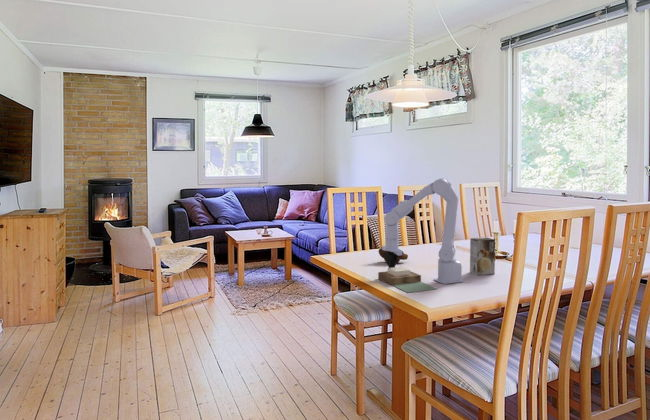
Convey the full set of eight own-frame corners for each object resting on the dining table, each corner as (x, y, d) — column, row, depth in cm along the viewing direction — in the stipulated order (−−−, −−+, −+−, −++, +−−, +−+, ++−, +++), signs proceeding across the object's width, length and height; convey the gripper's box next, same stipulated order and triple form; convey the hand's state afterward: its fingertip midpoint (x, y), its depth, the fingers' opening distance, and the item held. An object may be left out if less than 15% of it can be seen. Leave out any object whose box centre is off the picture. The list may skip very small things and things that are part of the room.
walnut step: (405, 276, 210) (405, 269, 209) (420, 282, 199) (420, 275, 198) (378, 279, 205) (378, 272, 204) (392, 285, 193) (392, 278, 193)
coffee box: (486, 271, 218) (487, 237, 217) (494, 274, 212) (495, 239, 211) (469, 272, 216) (470, 238, 215) (476, 275, 210) (477, 240, 209)
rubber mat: (420, 282, 199) (420, 281, 199) (437, 289, 188) (437, 288, 188) (392, 285, 193) (392, 284, 193) (407, 292, 182) (407, 292, 182)
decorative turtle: (375, 261, 241) (376, 246, 241) (403, 262, 244) (404, 247, 243) (380, 264, 232) (381, 248, 231) (409, 265, 234) (410, 249, 234)
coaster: (401, 271, 206) (401, 266, 206) (409, 274, 200) (410, 270, 200) (387, 272, 204) (387, 268, 204) (395, 276, 197) (395, 271, 197)
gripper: (376, 236, 211) (376, 266, 213) (392, 241, 198) (391, 272, 199) (389, 235, 214) (389, 264, 215) (406, 240, 200) (406, 271, 202)
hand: (391, 268), depth 207 cm, fingers closed
